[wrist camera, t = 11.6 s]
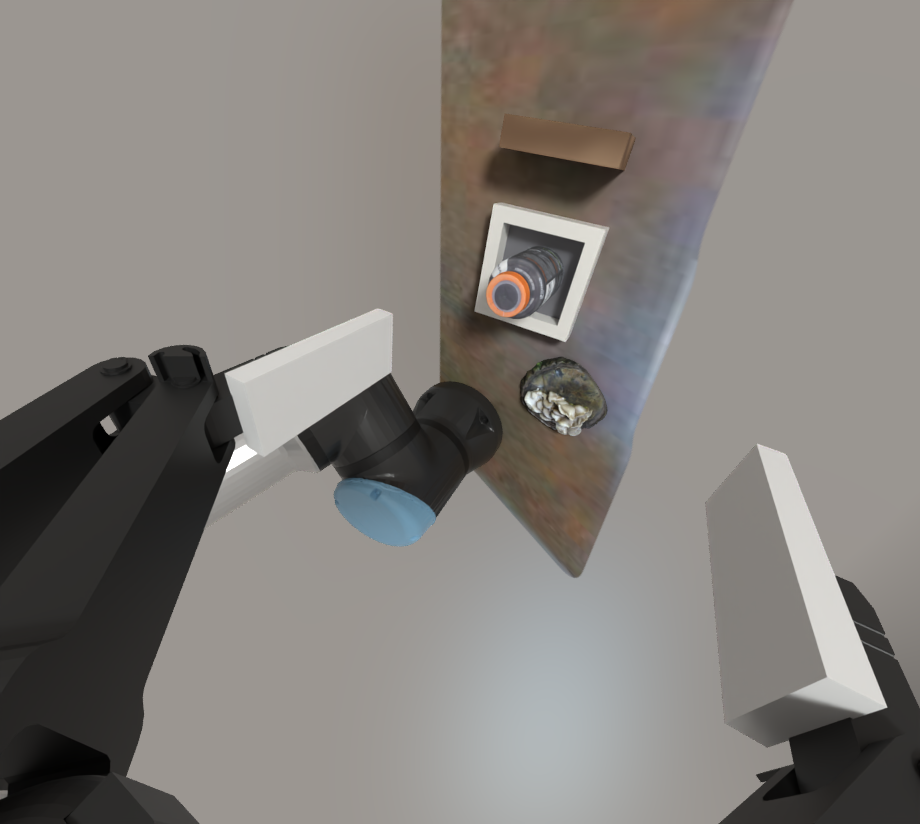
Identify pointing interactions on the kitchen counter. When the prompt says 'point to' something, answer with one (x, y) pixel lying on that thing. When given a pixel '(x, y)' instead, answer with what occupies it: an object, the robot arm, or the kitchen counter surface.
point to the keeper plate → (563, 235)
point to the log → (563, 396)
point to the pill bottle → (524, 282)
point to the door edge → (567, 141)
